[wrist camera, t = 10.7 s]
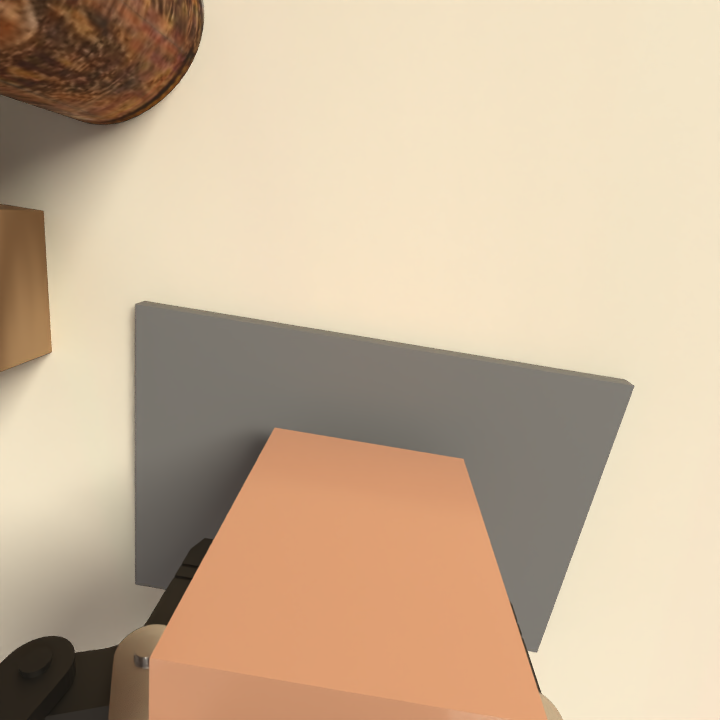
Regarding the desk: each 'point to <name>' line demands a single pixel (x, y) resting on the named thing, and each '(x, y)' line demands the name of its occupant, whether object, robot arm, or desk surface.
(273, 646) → the peach cube
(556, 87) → the desk surface
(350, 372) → the rubber mat
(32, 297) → the walnut block
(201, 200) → the desk surface
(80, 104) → the antique leather tome
